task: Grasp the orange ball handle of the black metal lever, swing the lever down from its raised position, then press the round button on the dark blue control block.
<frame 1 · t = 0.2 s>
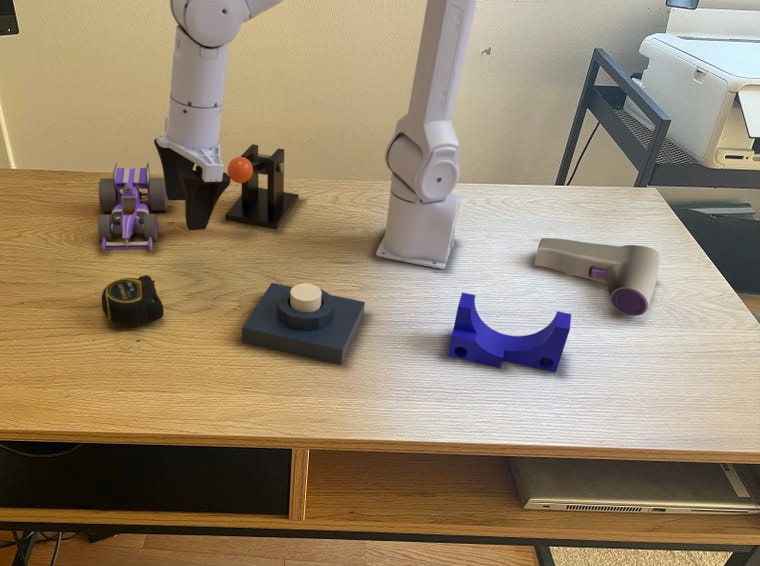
hand: (185, 213, 88), 11 cm above the table, tool pointing down, fingers open, 7 cm apart
control block: (304, 329, 88), on the table
infrared thermometer: (587, 287, 97), on the table
tape measure: (138, 314, 90), on the table
lever: (251, 167, 102), point 9 cm above the table, hinge at 18.0°
bracket: (262, 211, 111), on the table
blue semicircular cradle: (502, 357, 85), on the table
toy race car: (132, 227, 107), on the table
button: (305, 298, 85), point 4 cm above the table, slide at 0.1 cm
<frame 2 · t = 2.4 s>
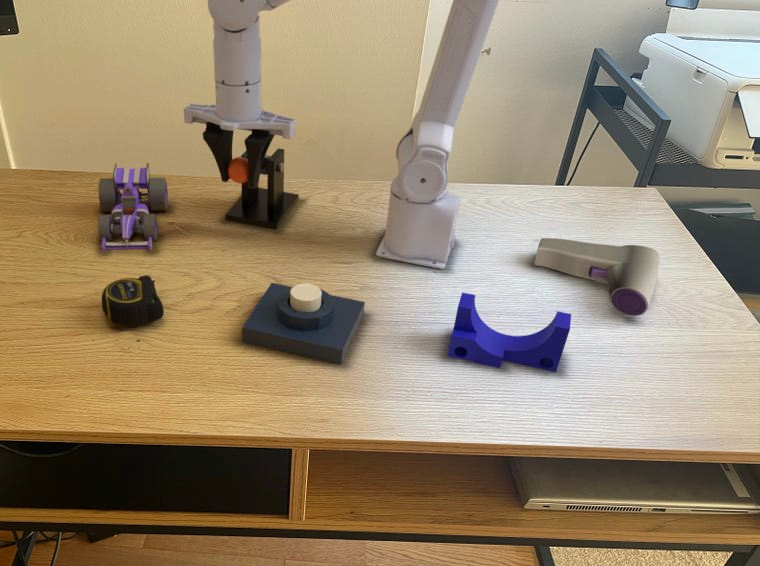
hand: (240, 181, 99), 9 cm above the table, tool pointing down, fingers closed on lever, 3 cm apart
lever: (251, 167, 102), point 9 cm above the table, hinge at 18.0°, touching gripper
everything else where it was.
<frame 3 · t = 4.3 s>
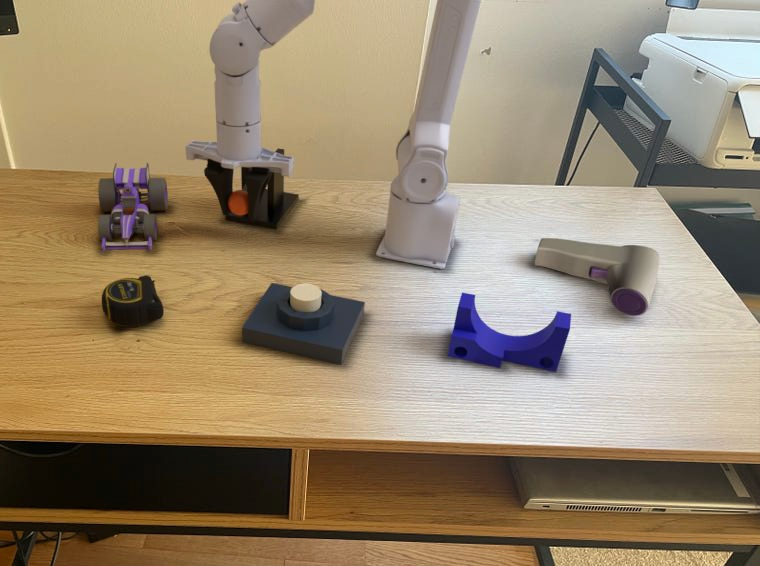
hand: (240, 214, 102), 4 cm above the table, tool pointing down, fingers closed on lever, 3 cm apart
lever: (251, 183, 104), point 7 cm above the table, hinge at -11.9°, touching gripper
everything else where it was.
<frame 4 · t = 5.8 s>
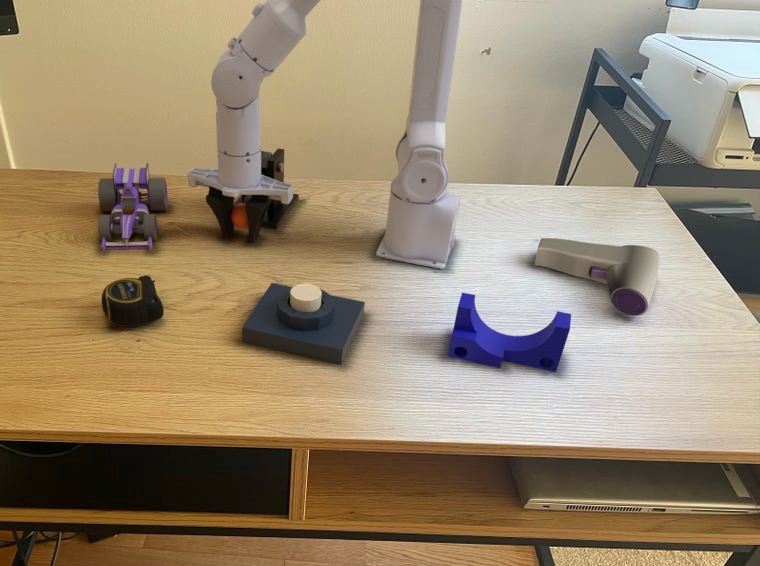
hand: (240, 239, 105), 0 cm above the table, tool pointing down, fingers closed on lever, 3 cm apart
lever: (252, 190, 105), point 5 cm above the table, hinge at -28.3°, touching gripper
everything else where it was.
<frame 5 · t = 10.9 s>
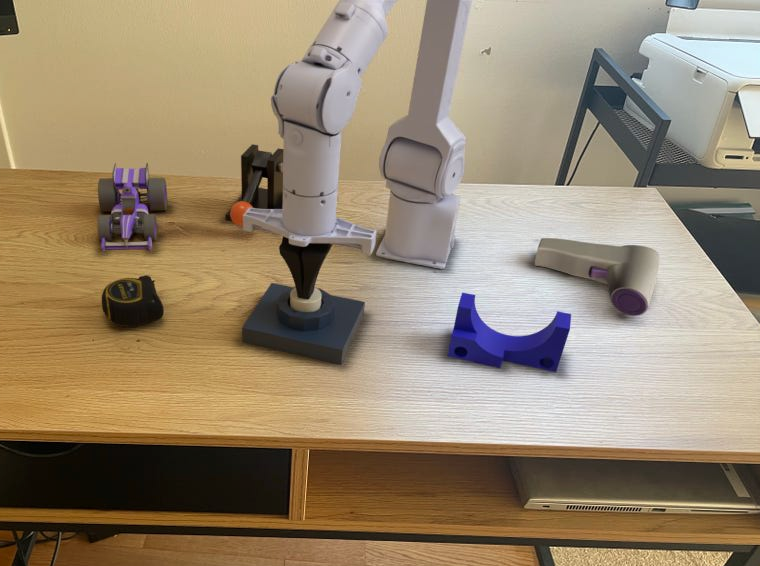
hand: (305, 294, 85), 5 cm above the table, tool pointing down, fingers closed, pressing on button
lever: (252, 189, 105), point 5 cm above the table, hinge at -25.5°
button: (305, 300, 86), point 4 cm above the table, slide at -0.2 cm, touching gripper
everything else where it was.
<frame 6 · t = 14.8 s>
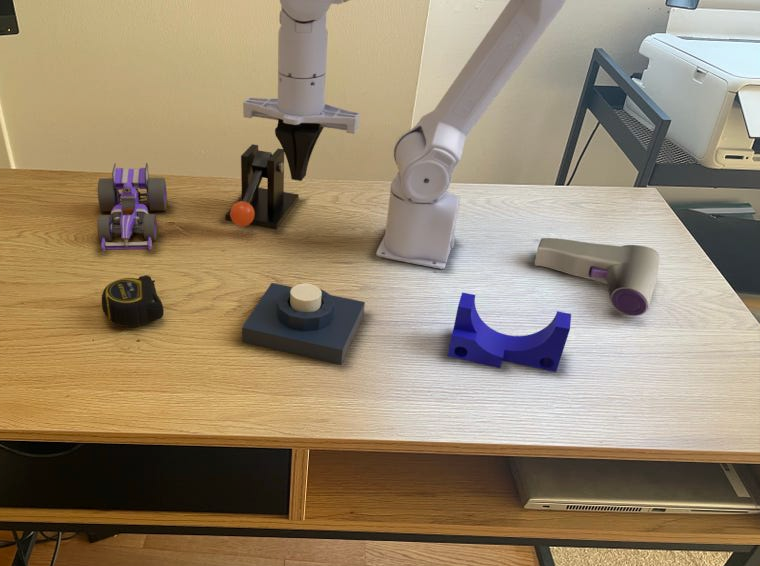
hand: (298, 177, 97), 10 cm above the table, tool pointing down, fingers closed
button: (305, 298, 85), point 4 cm above the table, slide at 0.1 cm
everything else where it was.
at the end: lever at -26° (first picture: +18°); button pushed in 1.2 cm at the most during the clip, back to where it started at the end; button slide at 0.1 cm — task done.
